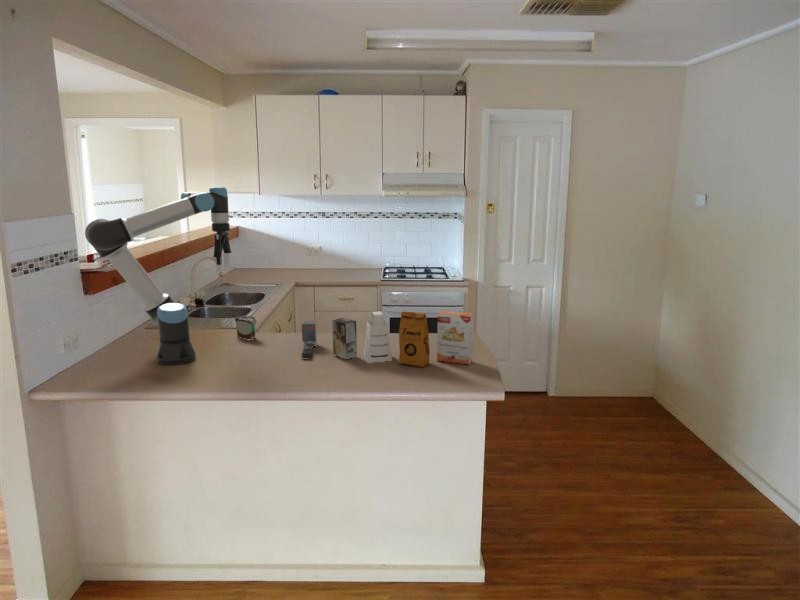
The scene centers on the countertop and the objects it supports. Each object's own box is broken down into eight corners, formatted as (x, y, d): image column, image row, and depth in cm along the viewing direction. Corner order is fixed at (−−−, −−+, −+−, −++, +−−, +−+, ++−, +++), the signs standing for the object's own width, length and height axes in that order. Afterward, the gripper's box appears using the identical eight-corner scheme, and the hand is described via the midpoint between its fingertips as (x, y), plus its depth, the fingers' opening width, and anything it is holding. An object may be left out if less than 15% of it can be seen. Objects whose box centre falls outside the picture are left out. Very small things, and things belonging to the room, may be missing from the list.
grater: (367, 363, 231) (366, 316, 227) (363, 355, 241) (363, 310, 237) (392, 361, 233) (392, 315, 229) (387, 354, 243) (387, 309, 239)
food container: (263, 338, 268) (262, 318, 266) (253, 341, 263) (252, 320, 261) (245, 334, 275) (244, 314, 273) (235, 337, 270) (234, 317, 268)
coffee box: (357, 357, 239) (357, 320, 236) (346, 360, 235) (345, 323, 231) (343, 352, 246) (342, 317, 242) (332, 355, 241) (331, 319, 238)
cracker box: (436, 361, 233) (437, 313, 229) (440, 357, 238) (441, 310, 234) (469, 365, 228) (470, 316, 224) (472, 361, 233) (474, 312, 229)
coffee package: (423, 369, 223) (423, 316, 219) (395, 365, 229) (395, 313, 224) (433, 362, 232) (433, 311, 227) (406, 358, 237) (406, 308, 233)
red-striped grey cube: (315, 341, 253) (315, 324, 251) (302, 341, 252) (301, 324, 251) (317, 337, 259) (316, 320, 257) (303, 337, 258) (302, 320, 257)
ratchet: (313, 358, 237) (312, 340, 235) (298, 359, 237) (298, 341, 235) (317, 343, 259) (316, 327, 257) (304, 344, 258) (303, 327, 257)
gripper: (222, 224, 237) (225, 273, 241) (235, 220, 261) (238, 265, 265) (204, 224, 236) (207, 274, 241) (219, 220, 260) (222, 265, 265)
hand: (223, 269), depth 253 cm, fingers open, 13 cm apart
